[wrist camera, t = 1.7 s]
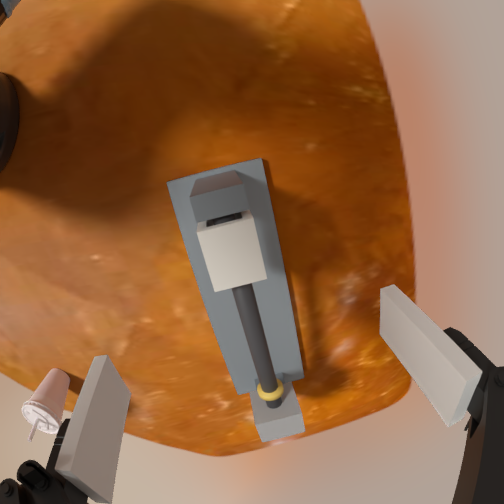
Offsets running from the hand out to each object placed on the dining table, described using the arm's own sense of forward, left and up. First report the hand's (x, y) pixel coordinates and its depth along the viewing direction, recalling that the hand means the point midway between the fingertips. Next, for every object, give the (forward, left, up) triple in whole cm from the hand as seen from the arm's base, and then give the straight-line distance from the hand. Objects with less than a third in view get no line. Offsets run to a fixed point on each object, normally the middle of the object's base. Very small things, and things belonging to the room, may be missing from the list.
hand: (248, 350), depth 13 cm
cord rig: (+10, 0, -22) cm, 24 cm away
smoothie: (+17, -32, -22) cm, 42 cm away
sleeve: (0, 0, -15) cm, 15 cm away
